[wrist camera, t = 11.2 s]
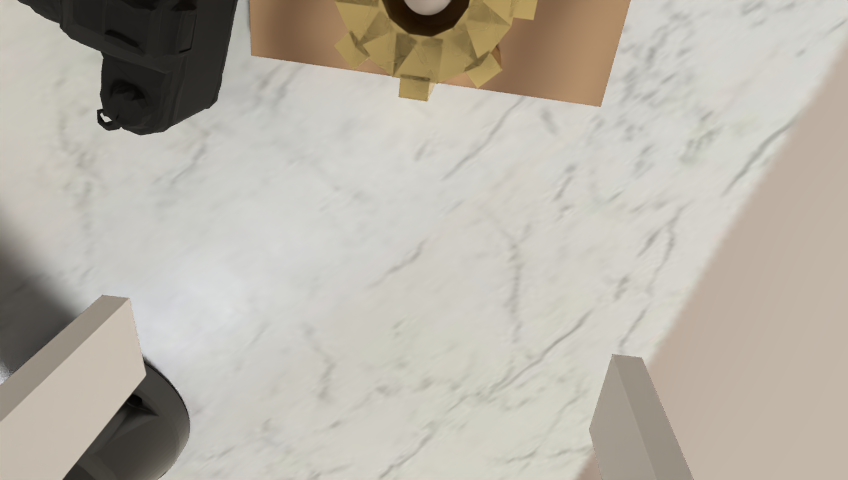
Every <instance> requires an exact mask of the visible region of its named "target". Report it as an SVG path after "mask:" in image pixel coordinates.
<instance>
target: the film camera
mask: <svg viewBox="0 0 848 480" xmlns="http://www.w3.org/2000/svg"><path fill="white" fill-rule="evenodd" d="M18 1H19V2H20V3H23V4H25V5H28V6H30V7H31V8H32V9H33V10H34V11H35V12H36V13H38V14H40V15H41V16H43V17H44V18H46V19H49V20H51V21H54V22H56V23H59V24H60V28H61V29H62V30H63V32H65V33H66V34H67V35H68V36H69V37H70V38H71V39H73V40H76V41H78V42H79V43H81V44H84V45H86V46H89V47H91V48H93V49H96V50H98V51H101V53H102V56H103V58H104V59H103V64H102V71H101V91H100V97H101V102H102V106H103V109H100V110H97V119H98V123H99V124H100V125H101V126H102V127H103V128H105V129H106V130H108V131H110V130H117V129H120V127H122V128H123V129H124V130H128V131H131V132H133V133H135V134H138V135H146V134H152V133H158V132H164V131H166V130H167V129H168V128H169V127H171V126H173V125H175V124H177V123H179V122H181V121H183V120H185V119H187V118H188V117H190V116H192V115H194V114H196V113H198V112H200V111H202V110H204V109H209V108H210V107H211V106H212V105H213V104H214V103H215V102H216V101H217V98H218V93H219V90H220V87H221V82H222V73H223V70H224V66H225V61H226V57H227V51H228V45H229V41H230V37H231V30H232V25H233V20H234V15H235V11H236V6H237V1H238V0H18ZM101 113H103V115H104V116H107V117H109V118H110V119H111V120H112V121H109V122H104V120H103V119H102V117H101V116H100V114H101Z"/></svg>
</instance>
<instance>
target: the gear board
mask: <svg viewBox="0 0 848 480" xmlns="http://www.w3.org/2000/svg"><path fill="white" fill-rule="evenodd" d="M401 1H402V3H403V6H404V8H405V10H406V11H407V12H409V13H410V14H411V15H412V16H414V17H415V18H416V19H417V20H418V21H420V22H421V23H428V24H435V25H442V24H445V23H447V22H449V21H451V20H454V19H456V18H458V17H460V15H461V14H462V12H463V11H464V10H465V8H466V7H467V6H468V4H469V1H470V0H401ZM630 1H631V0H537V5H536V10H535V15H534V20H529V19H522V18H515V17H513V20H512V26H511V27H510V29H509V30H508V31H507V32H506V34H505V35H504V36H503V38H502V39H501V40H500V41H499V43H498V44H497V45H496V47H497V49H498V50H499V52H500V54H501V63H502V71H500V72H499V73H498V74H496V75H495V76H494V77H492V78H491V79H490V80H488V81H487V82H486V83H484V84H483V85H481V86H480V87H479V88H477V87H476V86H475V84H474V83H473V82H472V80H471V79H470V77H469V76H468V75H467V73H466V72H464V73H462V74H459V75H457V76H454V77H452V78H450V79H447V80H445V81H442V82H440V83H442V84H449V85H456V86H463V87H470V88H476V89H483V90H490V91H497V92H504V93H510V94H517V95H524V96H531V97H538V98H544V99H551V100H558V101H565V102H572V103H578V104H585V105H592V106H599V107H601V104H602V100H603V97H604V93H605V90H606V86H607V83H608V79H609V75H610V72H611V68H612V65H613V61H614V58H615V54H616V51H617V47H618V43H619V40H620V36H621V33H622V29H623V26H624V22H625V19H626V15H627V11H628V8H629V4H630ZM249 4H250V32H251V55H252V56H259V57H266V58H272V59H279V60H286V61H293V62H300V63H306V64H313V65H320V66H327V67H334V68H340V69H347V70H353V69H352V68H351V67H350V65H349V64H348V63H347V62H346V60H345V59H344V58H343V57H342V55H341V54H340V53H339V51H338V50H337V49H336V48H335V46H334V45H335V44H336V43H337V42H338V41H339V40H341V39H342V38H343V37H344V36H345V35H346V34H347V33H348V30H347V28H346V25H345V23H344V21H343V19H342V17H341V14H340V12H339V10H338V8H337V6H336V3H335V0H249ZM354 71H361V72H368V73H374V74H381V75H388V76H391V75H390V74H388V73H387V72H386V71H385V70H383V69H382V68H381V67H379V66H378V65H377V64H376V63H374V62H373V61H372V60H371V59H369V58H368V59H367V60H366V61H364V62H363V63H362V64H361V65H359V66H358V67H357V68H356V69H354Z"/></svg>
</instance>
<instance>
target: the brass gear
mask: <svg viewBox="0 0 848 480" xmlns="http://www.w3.org/2000/svg"><path fill="white" fill-rule="evenodd" d="M335 3H336V6H337V8H338V10H339V12H340V14H341V17H342V19H343V21H344V23H345V25H346V28H347V30H348V33H347V34H346V35H345V36H344V37H343V38H342V39H341V40H339V41H338V42H337V43H336V44H335V45H334V46H335V48H336V49H337V50H338V51H339V53H340V54H341V55H342V57H343V58H344V59H345V60H346V62H347V63H348V64H349V65H350V67H351V68H352V69H353V70H354V69H356V68H357V67H358V66H359V65H361V64H362V63H363V62H364V61H366V60H367V59H368V58H369V59H371V60H372V61H373V62H374V63H376V64H377V65H378V66H379V67H381V68H382V69H383V70H385V71H386V72H387V73H388V74H390V75H391V76H392V77H396V78H400V88H399V97H401V98H408V99H415V100H422V101H428V99H429V96H430V94H431V92H432V90H433V87H434V85H435V83H437V84H438V83H440V82H442V81H445V80H447V79H450V78H452V77H454V76H457V75H459V74H462V73H464V72H466V73H467V75H468V76H469V77H470V79H471V80H472V82H473V83H474V84H475V86H476V87H477V88H479V87H480V86H481V85H483V84H484V83H486V82H487V81H488V80H490V79H491V78H492V77H494V76H495V75H496V74H498V73H499V72H500V71H502V63H501V54H500V52H499V50H498V49H497V47H496V45H497V44H498V43H499V41H500V40H501V39H502V38H503V36H504V35H505V34H506V32H507V31H508V30H509V29H510V27H511V26H512V20H513V17H515V18H522V19H529V20H534V15H535V10H536V5H537V0H470V1H469V4H468V6H467V7H466V8H465V10H464V11H463V12H462V14H461V15H460V17H458V18H456V19H454V20H451V21H449V22H447V23H445V24H442V25H435V24H428V23H421V22H420V21H418V20H417V19H416V18H415V17H414V16H412V15H411V14H410V13H409V12H407V11H406V10H405V8H404V6H403V3H402V1H401V0H335Z"/></svg>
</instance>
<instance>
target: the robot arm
mask: <svg viewBox="0 0 848 480" xmlns="http://www.w3.org/2000/svg"><path fill="white" fill-rule="evenodd" d="M589 430H590V434H591V438H592V443H593V447H594V451H595V455H596V459H597V463H598V467H599V471H600V475H601V479H602V480H694V479H693V477H692V475H691V472H690V470H689V467H688V465H687V463H686V460H685V458H684V456H683V453H682V451H681V449H680V446H679V444H678V442H677V439H676V437H675V435H674V432H673V430H672V427H671V425H670V423H669V420H668V418H667V416H666V414H665V411H664V409H663V406H662V404H661V402H660V399H659V397H658V395H657V392H656V390H655V388H654V385H653V383H652V381H651V378H650V376H649V373H648V371H647V369H646V366H645V364H644V362H643V359H642V358H640V357H631V356H623V355H614V354H612V357H611V361H610V364H609V367H608V370H607V374H606V377H605V380H604V383H603V386H602V390H601V393H600V396H599V399H598V402H597V406H596V409H595V412H594V415H593V418H592V422H591V425H590V428H589ZM189 433H190V424H189V418H188V414H187V412H186V409H185V407H184V405H183V403H182V401H181V399H180V398H179V396H178V395H177V393H176V392H175V391H174V389H173V388H172V387H171V386H170V385H169V384H168V383H167V382H166V381H165V380H164V379H163V378H162V377H161V376H160V375H159V374H158V373H156V372H155V371H154V370H153V369H151V368H150V367H148V366H147V365H145V364H144V362H143V357H142V353H141V348H140V344H139V339H138V335H137V330H136V325H135V321H134V316H133V312H132V307H131V302H130V298H124V297H115V296H107V295H102V296H101V297H100V298H99V299H97V300H96V301H95V302H94V303H93V304H92V305H91V306H89V307H88V308H87V309H86V310H85V311H84V312H83V313H82V314H80V315H79V316H78V317H77V318H76V319H75V320H74V321H72V322H71V323H70V324H69V325H68V326H67V327H66V328H65V329H63V330H62V331H61V332H60V333H59V334H58V335H57V336H55V337H54V338H53V339H52V340H51V341H50V342H49V343H48V344H46V345H45V346H44V347H43V348H42V349H41V350H40V351H38V352H37V353H36V354H35V355H34V356H33V357H32V358H30V359H29V360H28V361H27V362H26V363H25V364H24V365H23V366H21V367H20V368H19V369H18V370H17V371H16V372H15V373H13V374H12V375H11V376H10V377H9V378H8V379H7V380H6V381H4V382H3V383H2V384H1V385H0V480H157V479H159V478H160V477H162V476H163V475H164V474H165V473H166V472H167V471H168V470H169V469H170V468H171V467H172V466H173V464H174V463H175V461H176V460H177V458H178V457H179V455H180V453H181V452H182V450H183V449H184V447H185V445H186V443H187V441H188V438H189Z"/></svg>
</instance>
